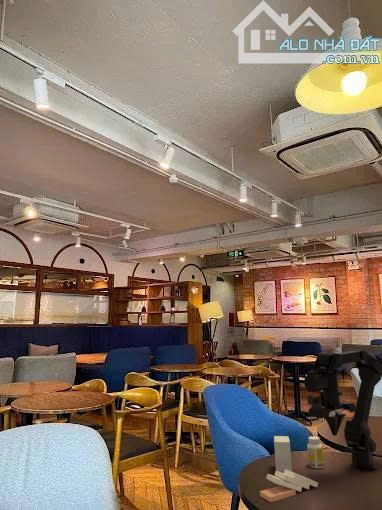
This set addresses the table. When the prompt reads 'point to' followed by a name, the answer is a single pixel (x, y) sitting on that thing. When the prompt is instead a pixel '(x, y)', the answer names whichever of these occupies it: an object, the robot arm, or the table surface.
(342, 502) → the table surface
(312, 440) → the supplement bottle
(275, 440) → the small box
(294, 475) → the domino
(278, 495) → the domino
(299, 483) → the domino
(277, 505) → the table surface
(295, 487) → the domino
